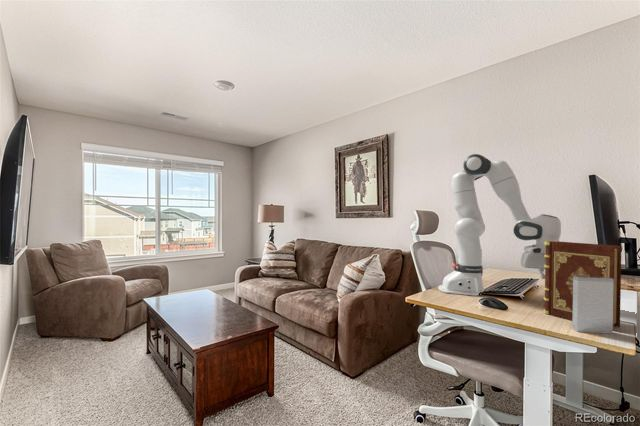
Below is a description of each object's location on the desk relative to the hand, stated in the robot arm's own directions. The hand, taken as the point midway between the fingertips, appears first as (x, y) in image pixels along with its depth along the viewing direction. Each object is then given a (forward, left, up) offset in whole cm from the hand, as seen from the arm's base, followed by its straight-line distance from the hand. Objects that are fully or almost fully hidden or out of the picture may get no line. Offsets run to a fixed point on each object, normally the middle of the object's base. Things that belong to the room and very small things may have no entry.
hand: (545, 278), depth 140 cm
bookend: (-3, -35, -11) cm, 37 cm away
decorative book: (0, -23, -11) cm, 25 cm away
